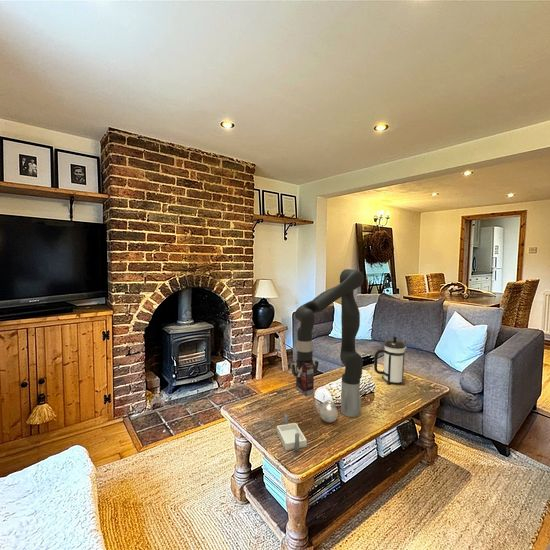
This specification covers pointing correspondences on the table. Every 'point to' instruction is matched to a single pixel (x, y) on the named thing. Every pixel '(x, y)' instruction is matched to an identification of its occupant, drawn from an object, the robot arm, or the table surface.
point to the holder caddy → (291, 435)
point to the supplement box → (306, 379)
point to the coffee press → (392, 360)
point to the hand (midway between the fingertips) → (304, 382)
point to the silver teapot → (329, 411)
